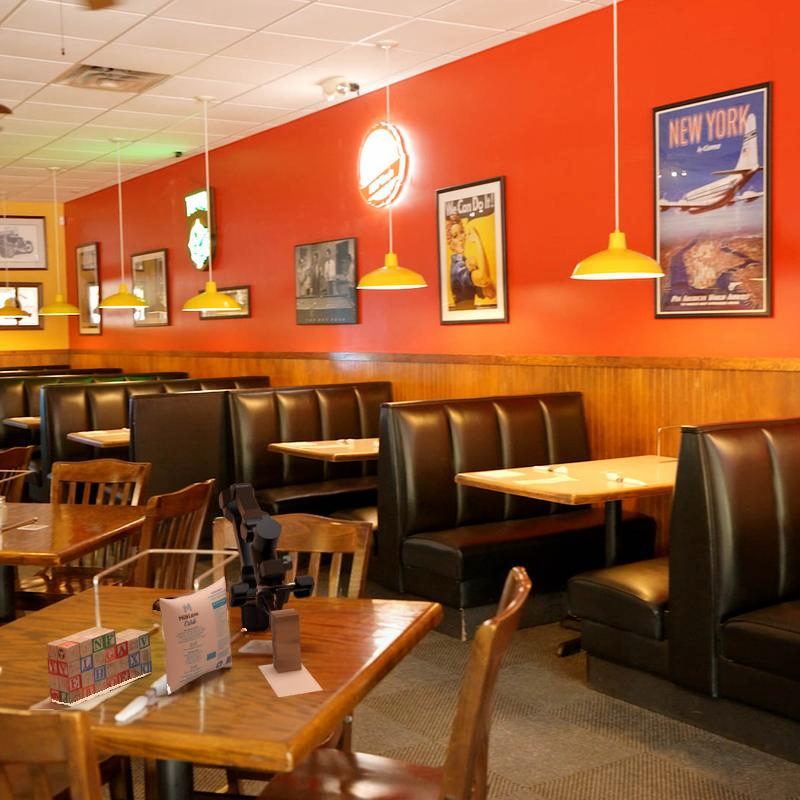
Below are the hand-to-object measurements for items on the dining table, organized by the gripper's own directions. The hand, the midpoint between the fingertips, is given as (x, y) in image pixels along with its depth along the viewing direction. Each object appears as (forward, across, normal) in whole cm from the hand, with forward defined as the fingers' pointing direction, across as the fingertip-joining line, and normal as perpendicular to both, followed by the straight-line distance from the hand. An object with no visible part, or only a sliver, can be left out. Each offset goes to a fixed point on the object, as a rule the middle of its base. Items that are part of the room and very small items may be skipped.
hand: (278, 624), depth 219 cm
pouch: (+10, -18, +2) cm, 21 cm away
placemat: (+15, -1, -3) cm, 15 cm away
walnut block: (+10, 0, +1) cm, 10 cm away
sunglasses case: (-32, -13, +44) cm, 56 cm away
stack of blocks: (+6, -37, +6) cm, 38 cm away
